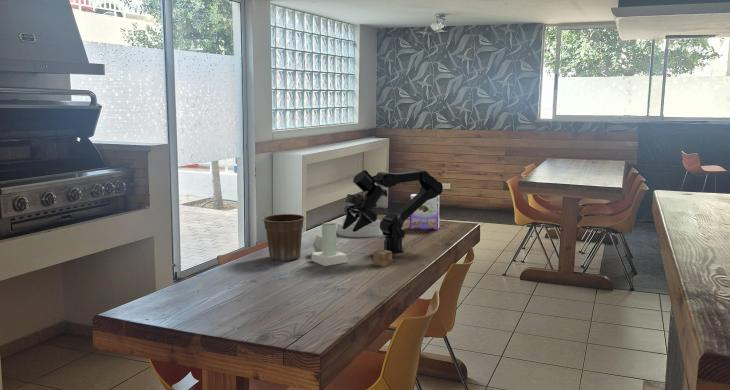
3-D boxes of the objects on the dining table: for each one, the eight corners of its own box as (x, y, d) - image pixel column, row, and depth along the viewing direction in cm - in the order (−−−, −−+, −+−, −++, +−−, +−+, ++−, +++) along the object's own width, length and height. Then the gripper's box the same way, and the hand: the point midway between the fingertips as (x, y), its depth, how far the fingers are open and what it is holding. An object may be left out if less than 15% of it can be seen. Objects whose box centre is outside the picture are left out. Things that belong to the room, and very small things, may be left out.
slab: (333, 257, 257) (333, 249, 257) (347, 262, 249) (347, 254, 249) (311, 260, 252) (311, 253, 251) (324, 266, 244) (324, 258, 243)
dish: (355, 226, 321) (355, 216, 320) (393, 231, 308) (393, 221, 307) (327, 234, 303) (327, 223, 302) (365, 239, 290) (365, 228, 289)
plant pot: (264, 263, 247) (263, 222, 245) (262, 254, 263) (261, 214, 261) (307, 261, 251) (306, 220, 248) (302, 252, 266) (302, 213, 264)
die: (325, 259, 256) (338, 238, 258) (307, 248, 257) (320, 227, 259) (326, 262, 264) (339, 241, 266) (308, 251, 265) (321, 231, 267)
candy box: (439, 227, 316) (440, 194, 313) (438, 230, 310) (438, 196, 308) (411, 226, 319) (411, 193, 316) (409, 228, 313) (409, 195, 311)
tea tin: (331, 252, 253) (330, 221, 251) (336, 254, 250) (336, 223, 248) (322, 253, 251) (321, 222, 249) (327, 255, 247) (327, 224, 246)
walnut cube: (381, 262, 250) (381, 249, 249) (391, 264, 247) (391, 251, 246) (373, 264, 246) (373, 251, 246) (383, 266, 243) (383, 253, 242)
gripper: (346, 185, 263) (324, 215, 259) (367, 187, 246) (344, 220, 243) (365, 201, 267) (343, 232, 264) (387, 205, 251) (364, 237, 247)
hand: (348, 230), depth 254 cm, fingers open, 9 cm apart
